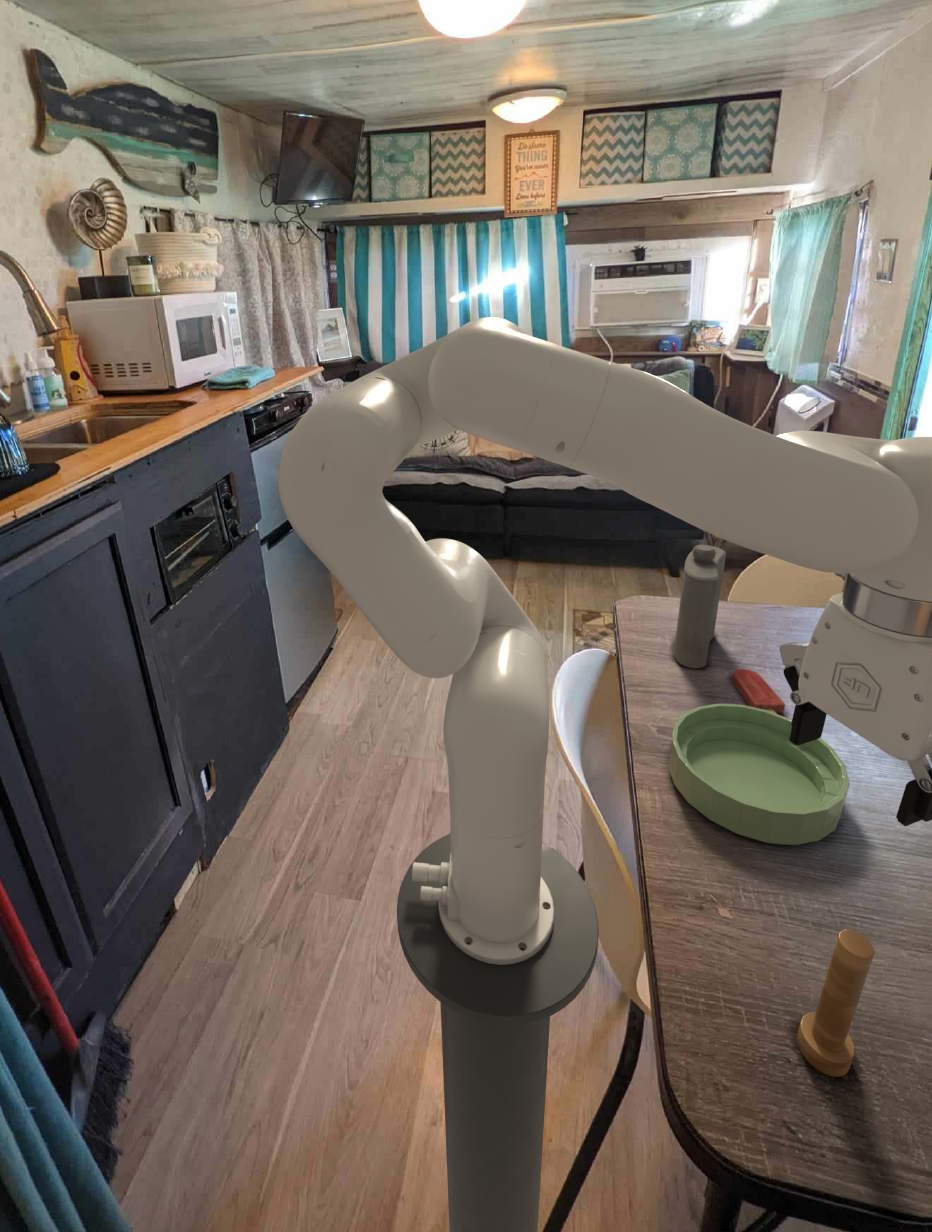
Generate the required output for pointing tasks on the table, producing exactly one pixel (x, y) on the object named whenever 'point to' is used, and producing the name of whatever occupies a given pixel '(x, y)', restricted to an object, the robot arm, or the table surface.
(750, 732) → the bowl
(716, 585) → the flask
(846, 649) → the robot arm
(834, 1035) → the wooden peg
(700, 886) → the table surface
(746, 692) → the popsicle
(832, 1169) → the table surface
